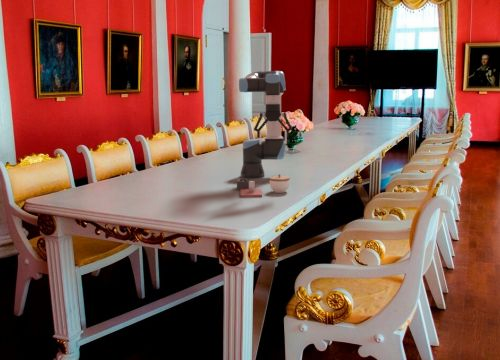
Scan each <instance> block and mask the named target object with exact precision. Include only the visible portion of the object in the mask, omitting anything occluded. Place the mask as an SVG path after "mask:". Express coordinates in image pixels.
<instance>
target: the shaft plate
mask: <svg viewBox="0 0 500 360" xmlns="http://www.w3.org/2000/svg"><path fill="white" fill-rule="evenodd" d="M255 184H256V181H255V180H250V181H249V189H241V190H240V198H262V197H263V192H262V188H255V187H256V185H255Z"/></svg>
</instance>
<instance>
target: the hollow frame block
mask: <svg viewBox="0 0 500 360" xmlns="http://www.w3.org/2000/svg"><path fill="white" fill-rule="evenodd" d="M250 179H251V178H236V191H241V189H249V181H251V180H250Z"/></svg>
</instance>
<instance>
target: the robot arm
mask: <svg viewBox="0 0 500 360" xmlns="http://www.w3.org/2000/svg"><path fill="white" fill-rule="evenodd" d="M285 78H286V77H285V73H284V72H283V71H281V70H270V71H269V70H268V71H264V70H263V71H262V70H261V71H259V70H258V71H255V72H251V73H248V74H247V75H246V76H244V77H242V78H239V79H238V90H239V92H240V93H264V95H265V103H266V104H265V113H262V112H260V113H259V118H258V120H257V121H256V123H255V125H254V127H253V131H255V132H257V133H256V135H257V137H256V138H251V139H245V140H244V141H243V143H242V167H241V169H240V173H239V174H240V177H241V178H243V179H258V178H264V177H265V170H264V167H263V164H262V163H263V161H265V160H269V161H270V160H276V161H277V160H284V158H285V153H286V152H285V151H286V145H287V144H288V139H287V138H289V137H290V131H293V127H292V126H291V123H290V121H289V120H288V117H287V113H286V112H282V95H283V94H284V91H286V90H287V89H286V79H285ZM264 117H265V119H264V121H263V122H262V123H261V121H262V119H263V118H264ZM282 117H283V118H284V121H285V123H286V125H287V126H286V125H285V123H284V122H283V121H282ZM260 123H261V125H260ZM266 124H267V126H266V127H267V128H266V129H267V130H266V131H267V132H266V136H265V138H264V140H262V131H261V130H262V129H263V128H264V126H265V125H266ZM259 125H260V126H259ZM282 127H283V128H284V129H285V131H284V136H282ZM262 160H263V161H262Z"/></svg>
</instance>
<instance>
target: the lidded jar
mask: <svg viewBox="0 0 500 360" xmlns="http://www.w3.org/2000/svg"><path fill="white" fill-rule="evenodd" d="M290 179H291V178H290V177H289V176H286V175H281V174H280V173H279V174H278V175H273V176H270V177H269V186H270V187H269V188H271V191H273V193H277V194H282V193H286V191H287V190H288V189H289V186H290Z"/></svg>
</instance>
